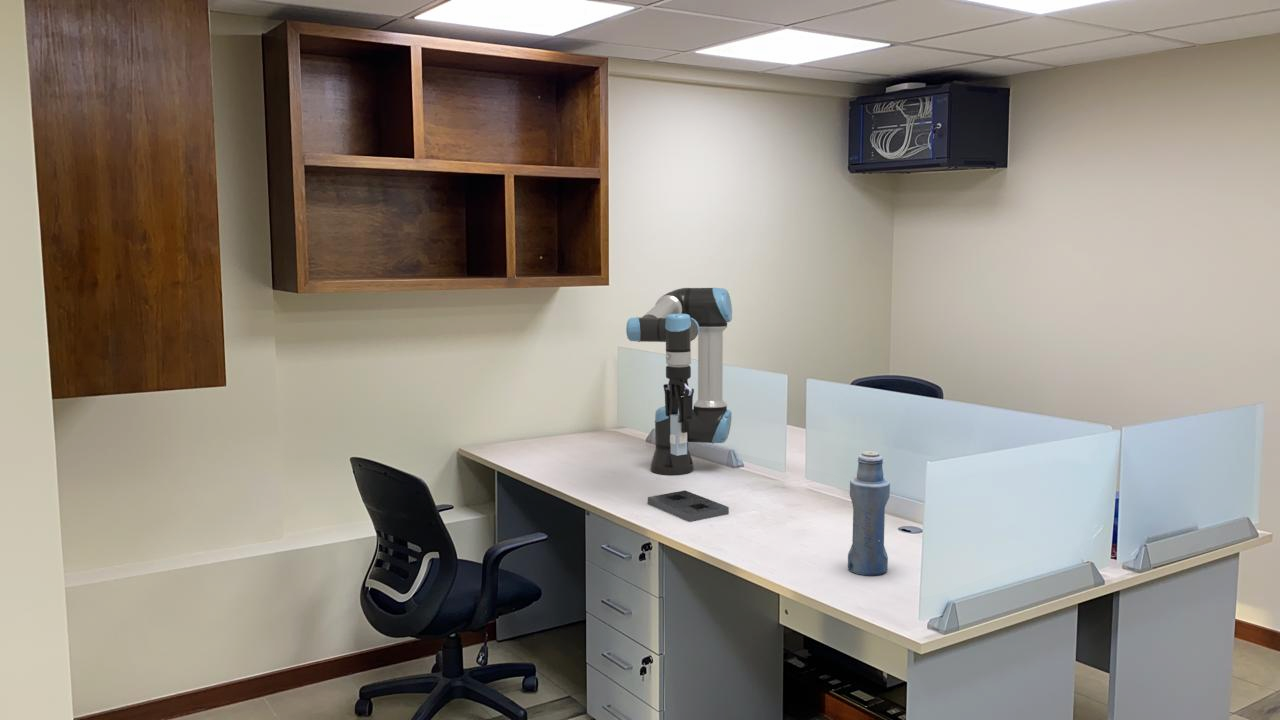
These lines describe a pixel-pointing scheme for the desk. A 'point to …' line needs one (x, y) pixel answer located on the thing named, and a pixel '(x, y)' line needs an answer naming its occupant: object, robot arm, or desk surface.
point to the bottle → (869, 516)
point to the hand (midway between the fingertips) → (678, 441)
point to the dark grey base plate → (688, 506)
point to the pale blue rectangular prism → (676, 437)
